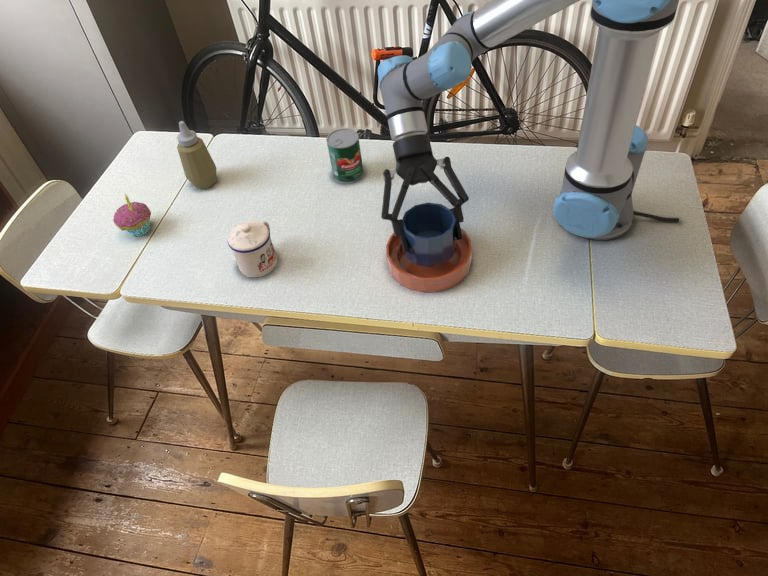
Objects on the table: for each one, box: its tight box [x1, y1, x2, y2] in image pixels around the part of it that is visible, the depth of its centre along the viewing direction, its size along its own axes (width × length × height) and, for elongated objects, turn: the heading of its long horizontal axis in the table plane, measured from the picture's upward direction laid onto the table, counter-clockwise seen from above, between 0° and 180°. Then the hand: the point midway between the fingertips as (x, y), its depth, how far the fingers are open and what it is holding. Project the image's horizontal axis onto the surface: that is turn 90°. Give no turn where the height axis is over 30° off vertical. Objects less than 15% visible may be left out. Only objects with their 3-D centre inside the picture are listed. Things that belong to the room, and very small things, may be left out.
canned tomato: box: [325, 127, 365, 184], centre depth 144 cm, size 8×8×11 cm
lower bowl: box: [385, 228, 473, 293], centre depth 124 cm, size 18×18×4 cm
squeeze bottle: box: [176, 120, 217, 190], centre depth 144 cm, size 8×8×18 cm
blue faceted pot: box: [401, 202, 456, 267], centre depth 119 cm, size 11×11×8 cm
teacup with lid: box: [227, 220, 278, 278], centre depth 126 cm, size 12×9×12 cm
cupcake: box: [112, 193, 152, 237], centre depth 136 cm, size 9×8×12 cm
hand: (432, 245), depth 118 cm, fingers closed on blue faceted pot, 11 cm apart
